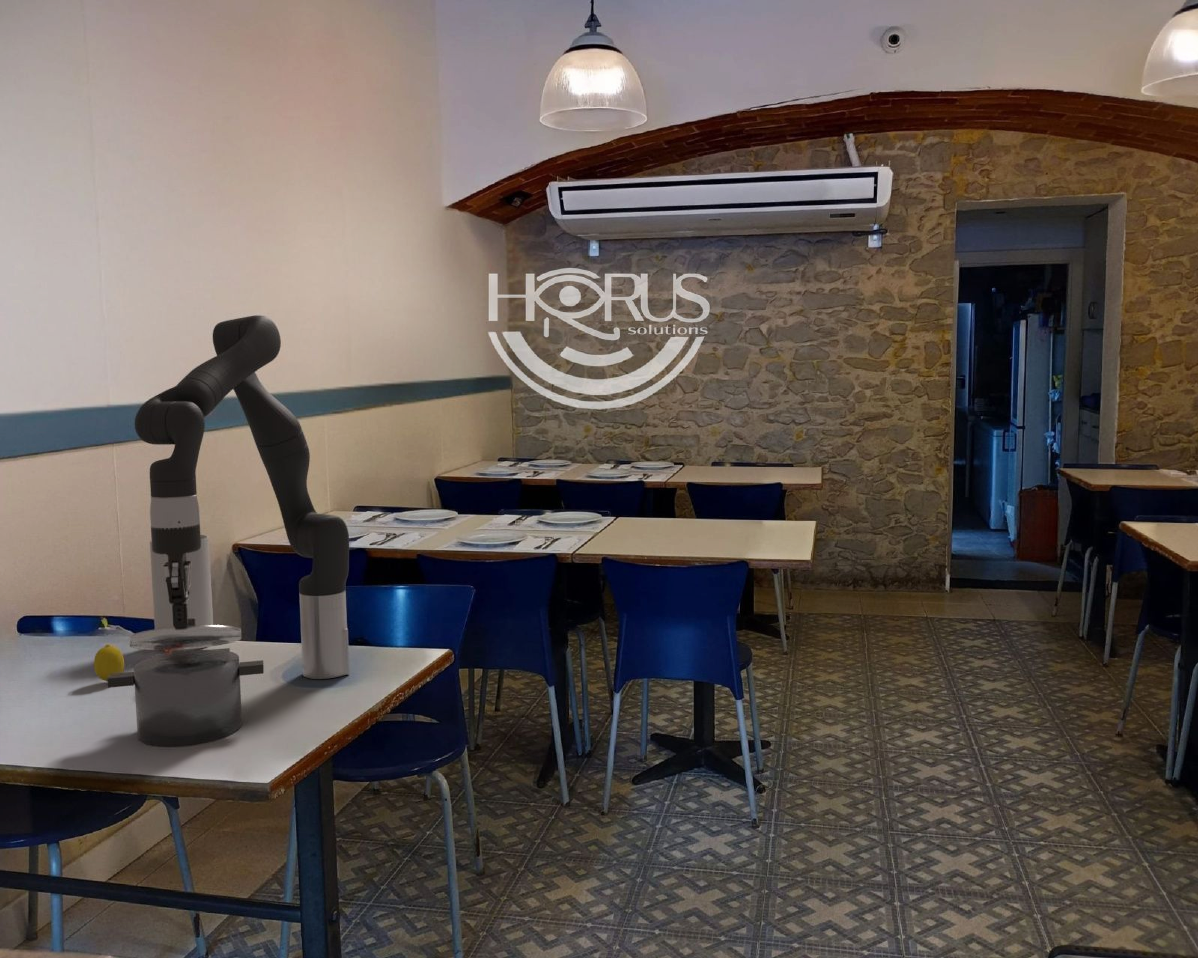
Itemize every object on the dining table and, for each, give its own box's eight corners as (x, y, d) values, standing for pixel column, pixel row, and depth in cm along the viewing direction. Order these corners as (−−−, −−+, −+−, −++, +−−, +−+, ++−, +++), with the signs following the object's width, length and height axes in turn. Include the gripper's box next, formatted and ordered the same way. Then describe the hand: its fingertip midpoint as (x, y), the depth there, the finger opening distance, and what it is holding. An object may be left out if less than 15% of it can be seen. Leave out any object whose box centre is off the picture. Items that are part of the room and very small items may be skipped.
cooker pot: (266, 705, 194) (263, 642, 192) (265, 737, 176) (262, 668, 175) (121, 719, 186) (117, 654, 185) (104, 754, 169) (100, 682, 168)
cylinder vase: (208, 650, 234) (202, 541, 231) (149, 654, 232) (143, 543, 229) (218, 637, 246) (213, 533, 244) (163, 640, 244) (157, 535, 242)
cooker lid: (243, 644, 191) (242, 623, 192) (238, 630, 174) (237, 607, 175) (137, 653, 185) (137, 631, 186) (122, 640, 169) (121, 616, 170)
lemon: (101, 679, 212) (99, 641, 211) (129, 678, 213) (127, 640, 212) (90, 687, 207) (88, 648, 206) (119, 686, 207) (116, 647, 206)
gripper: (196, 527, 165) (202, 633, 167) (202, 516, 178) (207, 615, 179) (145, 529, 163) (151, 637, 165) (155, 519, 176) (160, 619, 177)
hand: (180, 625), depth 172 cm, fingers closed
